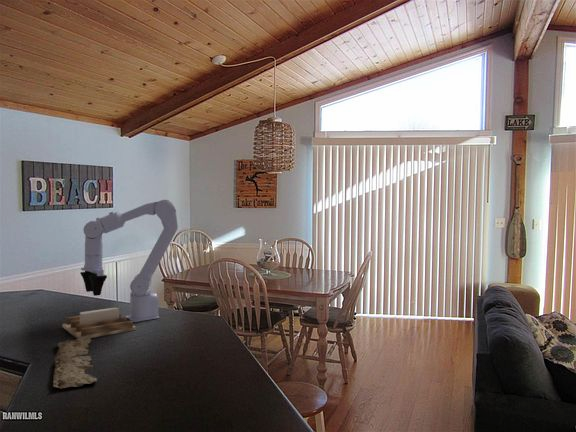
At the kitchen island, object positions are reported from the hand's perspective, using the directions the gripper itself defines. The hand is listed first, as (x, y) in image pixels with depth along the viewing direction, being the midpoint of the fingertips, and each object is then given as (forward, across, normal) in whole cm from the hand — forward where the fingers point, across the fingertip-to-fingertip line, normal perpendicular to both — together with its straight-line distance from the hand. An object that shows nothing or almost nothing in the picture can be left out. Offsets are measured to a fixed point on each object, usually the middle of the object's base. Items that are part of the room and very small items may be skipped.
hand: (93, 293), depth 162 cm
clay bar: (+8, +12, -2) cm, 15 cm away
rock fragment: (+10, +40, -18) cm, 45 cm away
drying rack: (+9, +12, -2) cm, 15 cm away
